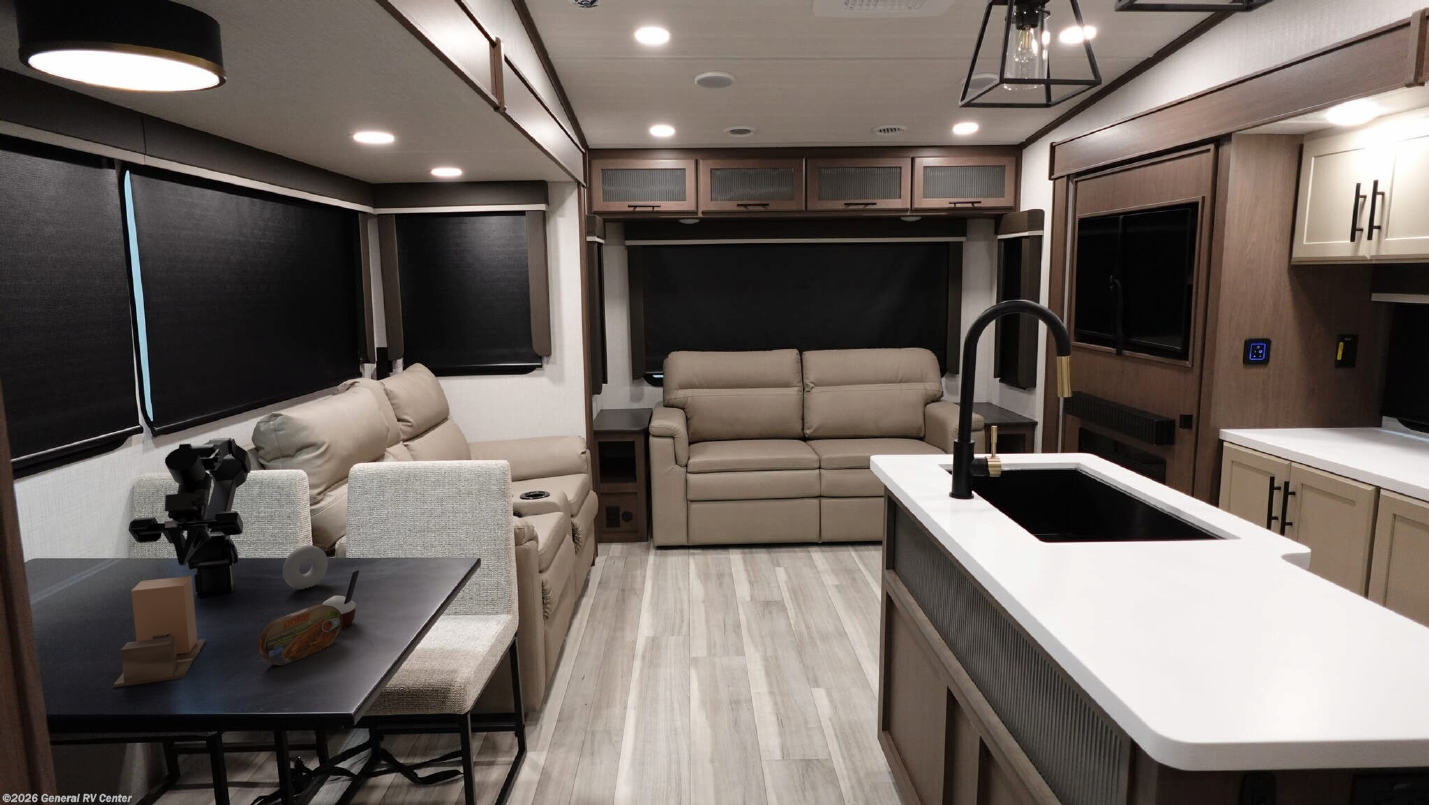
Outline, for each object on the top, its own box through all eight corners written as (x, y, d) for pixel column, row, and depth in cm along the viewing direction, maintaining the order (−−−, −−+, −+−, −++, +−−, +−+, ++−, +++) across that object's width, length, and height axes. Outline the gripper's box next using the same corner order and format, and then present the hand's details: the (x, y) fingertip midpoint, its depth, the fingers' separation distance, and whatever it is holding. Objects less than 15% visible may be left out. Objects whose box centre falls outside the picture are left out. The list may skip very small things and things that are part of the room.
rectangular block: (147, 647, 145) (141, 581, 143) (197, 641, 147) (191, 576, 146) (138, 659, 140) (131, 590, 138) (189, 652, 143) (183, 585, 141)
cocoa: (314, 627, 157) (307, 571, 155) (344, 616, 162) (337, 561, 160) (338, 638, 151) (331, 579, 150) (368, 626, 156) (362, 569, 155)
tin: (266, 673, 138) (263, 628, 136) (257, 668, 139) (253, 624, 138) (345, 641, 150) (342, 600, 149) (335, 637, 152) (333, 596, 151)
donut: (289, 596, 172) (286, 553, 170) (281, 593, 173) (277, 550, 172) (332, 583, 180) (329, 541, 178) (323, 580, 182) (321, 539, 180)
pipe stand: (144, 649, 146) (141, 616, 145) (206, 641, 149) (203, 609, 148) (114, 687, 132) (110, 651, 131) (182, 678, 135) (179, 642, 134)
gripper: (127, 479, 152) (110, 550, 144) (235, 472, 159) (226, 540, 150) (144, 507, 161) (130, 576, 152) (247, 500, 167) (239, 566, 158)
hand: (181, 564), depth 153 cm, fingers closed
